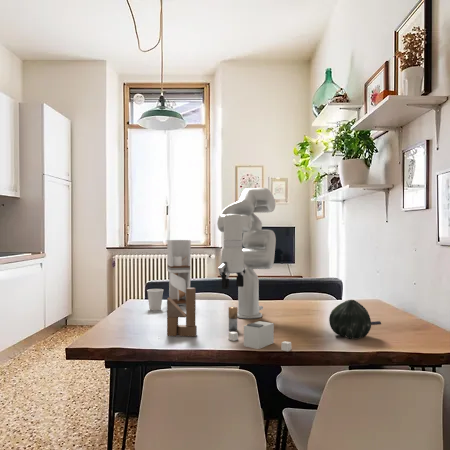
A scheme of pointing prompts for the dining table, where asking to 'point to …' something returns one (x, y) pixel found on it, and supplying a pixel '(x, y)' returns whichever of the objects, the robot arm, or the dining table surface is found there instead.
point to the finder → (258, 334)
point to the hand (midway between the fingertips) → (232, 287)
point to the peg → (233, 318)
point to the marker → (286, 346)
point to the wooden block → (176, 312)
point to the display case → (179, 269)
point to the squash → (350, 320)
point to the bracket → (375, 322)
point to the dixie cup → (155, 299)
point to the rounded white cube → (233, 336)
